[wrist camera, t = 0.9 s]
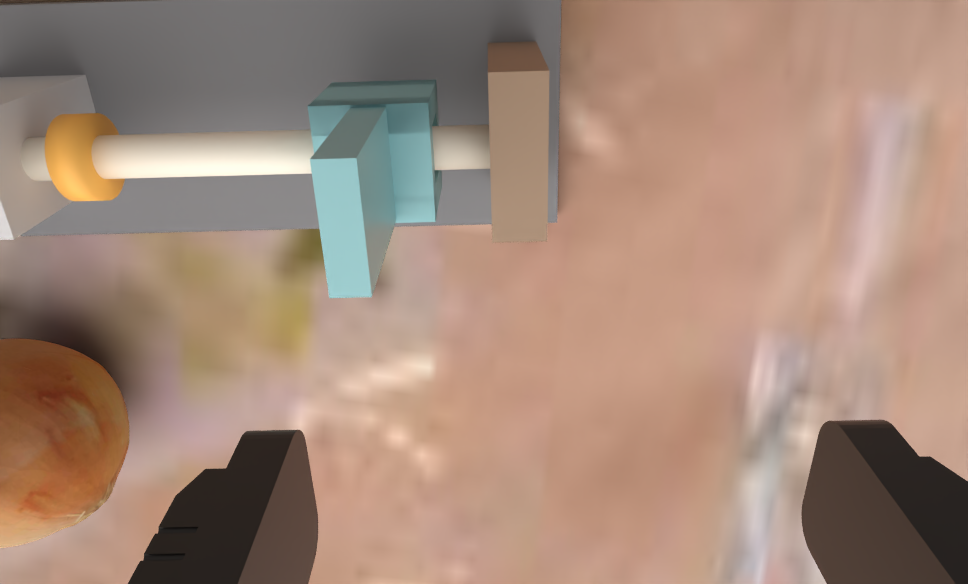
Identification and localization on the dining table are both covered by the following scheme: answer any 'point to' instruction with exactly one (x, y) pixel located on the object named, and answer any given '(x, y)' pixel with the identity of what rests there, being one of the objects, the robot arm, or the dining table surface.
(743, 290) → the dining table surface
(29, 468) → the onion
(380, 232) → the light blue bracket block
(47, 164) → the grey rod holder stand
